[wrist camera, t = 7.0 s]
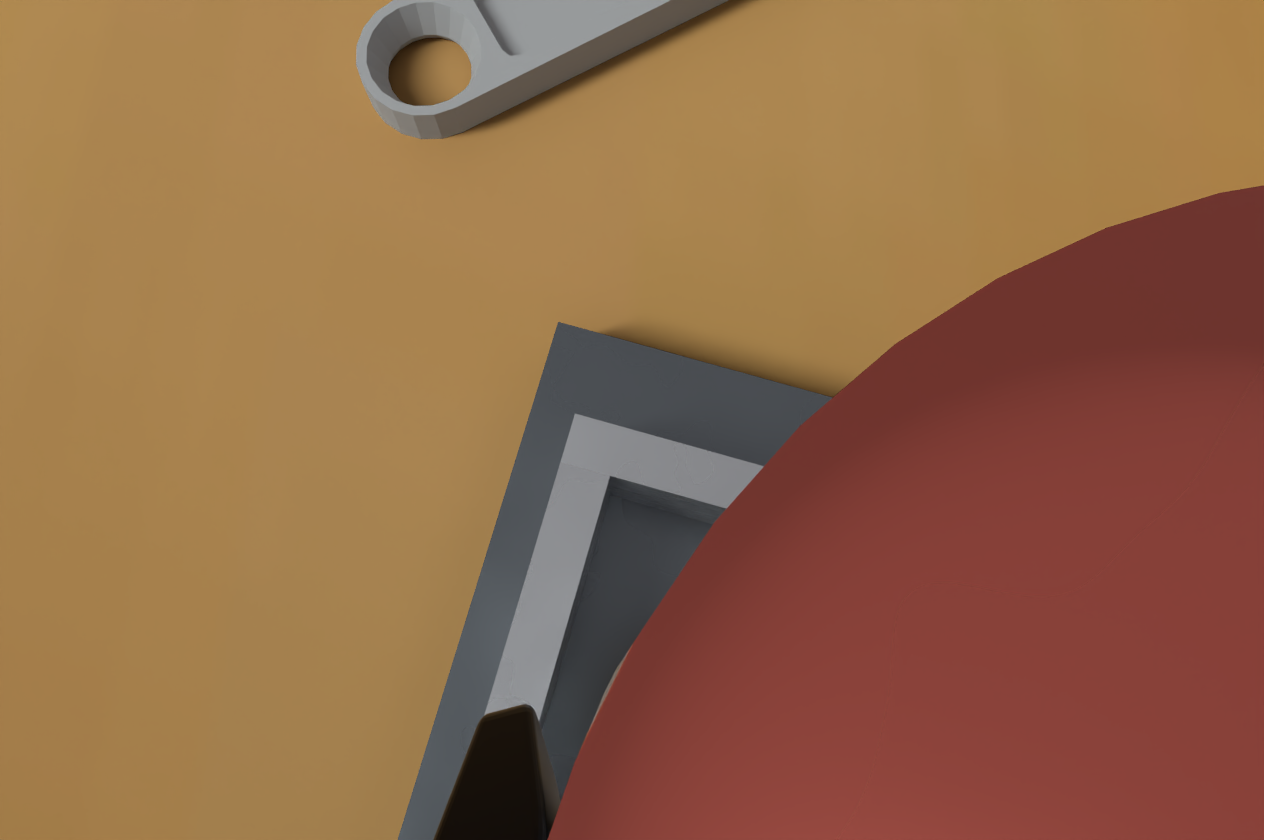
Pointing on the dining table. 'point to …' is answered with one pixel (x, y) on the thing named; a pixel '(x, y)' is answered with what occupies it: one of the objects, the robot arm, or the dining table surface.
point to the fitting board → (595, 536)
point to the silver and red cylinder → (983, 580)
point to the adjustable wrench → (505, 50)
